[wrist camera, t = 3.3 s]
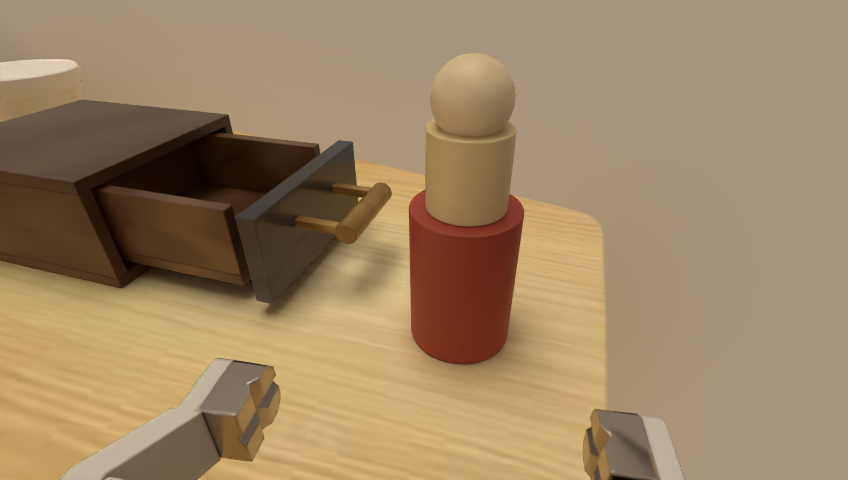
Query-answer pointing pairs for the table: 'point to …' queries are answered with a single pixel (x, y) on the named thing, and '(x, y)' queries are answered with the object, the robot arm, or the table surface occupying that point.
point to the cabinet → (81, 180)
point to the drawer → (239, 209)
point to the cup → (37, 86)
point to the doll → (466, 215)
